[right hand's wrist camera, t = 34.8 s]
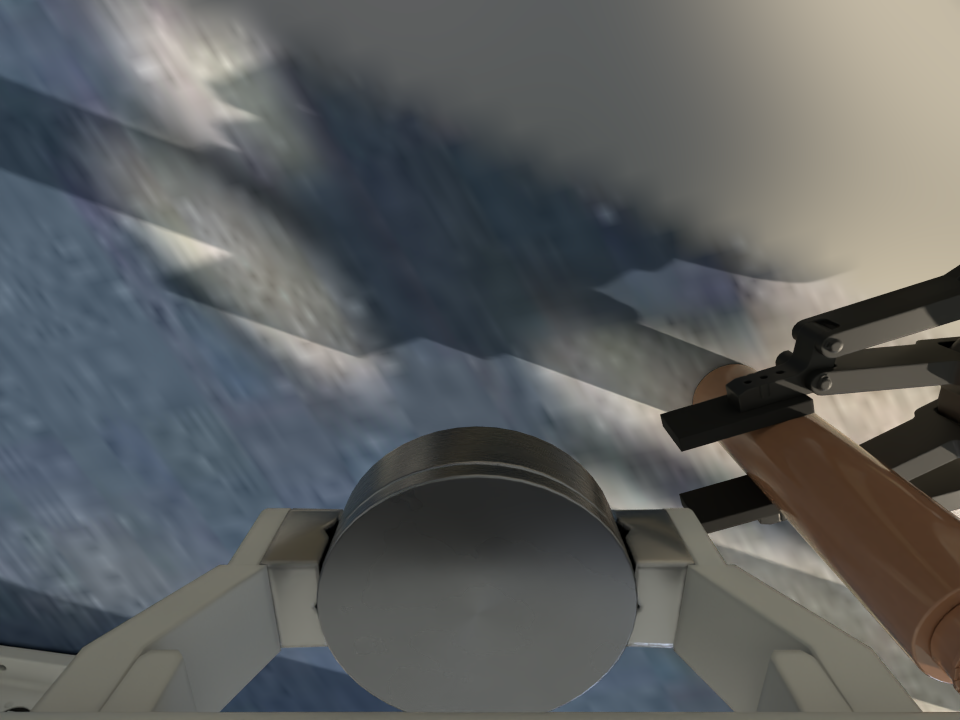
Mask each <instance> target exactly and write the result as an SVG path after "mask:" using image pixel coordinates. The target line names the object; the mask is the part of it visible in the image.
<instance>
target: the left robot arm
mask: <svg viewBox="0 0 960 720" xmlns="http://www.w3.org/2000/svg"><path fill="white" fill-rule="evenodd" d="M957 320H960V265H959V266H957V267H956V268H954V269H953V270H951V271H950V272H948V273H947V274H945V275H943V276H940V277H937V278H934V279H931V280H927V281H924V282H921V283H918V284H915V285H912V286H908V287H905V288H902V289H899V290H896V291H893V292H889V293H886V294H883V295H880V296H877V297H873V298H870V299H867V300H864V301H861V302H858V303H854V304H851V305H848V306H845V307H842V308H839V309H835V310H832V311H829V312H826V313H823V314H820V315H816V316H813V317H810V318H807V319H804V320H801V321H799V322H798V323H797V324H796V325H795V326H794V328H793V330H792V336H793V338H794V339H795V340H796V343H795V347H794V351H793V353H792V352H790V351H788V350H787V351H784V352H782V353H781V354H779V356H778V357H777V359H776V366H775V367H771V368H768V369H765V370H761V371H758V372H755V373H751V374H748V375H746V376H741V377H738V378H735V379H733V380H732V381H730V382H729V383H727V384H726V385H725V386H726V391H727V395H724V396H720V397H717V398H713V399H710V400H707V401H703V402H700V403H697V404H693V405H690V406H687V407H683V408H680V409H677V410H673V411H670V412H667V413H663V414H660V416H661V420H662V424H663V427H664V428H665V430H666V431H667V432H668V434H669V435H670V436H671V438H672V439H673V441H674V442H675V443H676V445H677V446H678V447H679V449H680V450H681V451H686V450H689V449H692V448H696V447H699V446H703V445H706V444H710V443H713V442H716V441H720V440H723V439H727V438H730V437H734V436H737V435H740V434H744V433H747V432H751V431H754V430H758V429H761V428H764V427H768V426H771V425H775V424H778V423H782V422H785V421H788V420H792V419H795V418H799V417H802V416H806V415H809V414H813V413H814V405H813V399H811V398H810V397H808V396H807V395H806V394H810V393H815V394H817V395H833V394H845V393H856V392H867V391H879V390H890V389H901V388H912V387H924V386H935V385H941V390H940V394H939V397H938V399H937V400H935V401H933V402H931V403H929V404H927V405H925V406H923V407H920V408H919V409H917V410H916V411H915V412H914V414H915V417H914V418H913V419H912V420H909V421H907V422H905V423H903V424H901V425H899V426H897V427H895V428H893V429H891V430H889V431H887V432H885V433H883V434H881V435H879V436H877V437H875V438H873V439H871V440H869V441H867V442H864V443H862V444H860V445H859V446H861V447H862V448H863V449H865V450H866V451H867V452H869V453H870V454H872V455H873V456H874V457H876V458H877V459H879V460H880V461H881V462H883V463H884V464H885V465H887V466H888V467H890V468H891V469H892V470H894V471H895V472H896V473H898V474H899V475H901V476H902V477H903V478H905V479H906V480H907V481H909V482H910V483H912V484H913V485H914V486H916V487H917V488H918V489H920V490H921V491H923V492H924V493H925V494H927V495H928V496H930V497H931V498H932V499H934V500H935V501H936V502H938V503H939V504H941V505H942V506H943V507H945V508H946V509H947V510H949V511H952V510H956V509H960V337H950V338H939V339H928V340H919V341H917V342H916V344H914V345H903V346H892V347H881V348H870V349H865V348H868V347H872V346H875V345H878V344H882V343H885V342H888V341H891V340H895V339H898V338H901V337H904V336H908V335H911V334H914V333H918V332H921V331H924V330H927V329H931V328H934V327H937V326H940V325H944V324H947V323H950V322H953V321H957ZM679 495H680V499H681V503H682V506H683V507H684V508H689V509H691V510H692V511H693V512H694V514H695V515H696V517H697V519H698V520H699V522H700V523H701V525H702V526H703V528H704V530H705V531H706V533H707V534H708V533H712V532H715V531H719V530H723V529H726V528H730V527H733V526H737V525H741V524H744V523H748V522H752V521H755V520H758V521H759V522H760V523H761V524H774V523H778V522H781V521H785V520H787V519H786V518H785V517H784V516H783V515H782V513H781V512H780V511H779V510H778V509H777V508H776V507H775V506H774V504H773V503H772V502H771V501H770V500H769V499H768V498H767V497H766V495H765V494H764V493H763V492H762V491H761V490H760V489H759V488H758V486H757V485H756V484H755V483H754V482H753V481H752V480H751V479H750V477H749V476H748V475H745V476H741V477H738V478H734V479H731V480H727V481H724V482H720V483H717V484H713V485H710V486H706V487H703V488H699V489H696V490H692V491H689V492H685V493H681V494H679Z"/></svg>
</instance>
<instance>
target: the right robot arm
mask: <svg viewBox="0 0 960 720" xmlns="http://www.w3.org/2000/svg"><path fill="white" fill-rule="evenodd" d="M611 511H612V514H613V517H614V519H615V522H616V524H617V527H618V530H619V532H620V535H621V537H622V540H623V543H624V545H625V549H626V551H627V553H628V556H629V558H630V561H631V564H632V567H633V571H634V574H635V577H636V584H637V592H638V605H637V615H636V620H635V624H634V629H633V631H632V634H631V637H630V639H629V642H628V644H627V646H631V647H666V648H674V651H675V652H676V653H677V654H678V655H679V656H680V657H681V658H682V659H683V660H684V661H685V662H686V663H687V664H688V665H689V666H690V667H691V668H692V669H693V670H694V671H695V672H696V673H697V674H698V675H699V676H700V677H701V678H702V679H703V680H704V681H705V682H706V683H707V684H708V685H709V686H710V687H711V688H712V689H713V690H714V691H715V692H716V693H717V694H718V695H719V696H720V697H721V698H722V699H723V700H724V701H725V702H726V703H727V705H728V706H729V707H730V708H731V709H732V710H733V711H734V712H220V711H221V710H222V709H223V708H224V707H225V706H226V705H227V704H228V703H229V702H230V701H231V700H232V699H233V698H234V697H235V696H236V695H237V694H238V693H239V692H240V691H241V690H242V689H243V688H244V687H245V686H246V685H247V684H248V683H249V682H250V681H251V680H252V679H253V678H254V677H255V676H256V675H257V674H258V673H259V672H260V671H261V670H262V669H263V668H264V667H265V666H266V665H267V664H268V663H269V662H270V661H271V660H272V659H273V658H274V657H275V656H276V655H277V654H278V653H279V652H280V651H281V648H289V647H323V646H328V645H327V643H326V641H325V638H324V636H323V633H322V631H321V627H320V622H319V618H318V613H317V597H316V596H317V587H318V579H319V576H320V572H321V569H322V565H323V562H324V560H325V557H326V555H327V552H328V550H329V547H330V544H331V542H332V539H333V537H334V534H335V531H336V529H337V526H338V524H339V521H340V519H341V516H342V514H343V509H302V508H293V509H290V508H267V509H265V510H263V511H262V512H261V513H260V515H259V516H258V518H257V520H256V521H255V523H254V524H253V526H252V527H251V529H250V531H249V532H248V534H247V535H246V537H245V538H244V540H243V541H242V543H241V545H240V546H239V548H238V549H237V551H236V552H235V554H234V556H233V557H232V559H231V560H230V562H229V563H228V565H219V566H217V567H215V568H214V569H212V570H210V571H209V572H207V573H205V574H204V575H202V576H200V577H199V578H197V579H195V580H194V581H192V582H190V583H189V584H187V585H185V586H184V587H182V588H180V589H179V590H177V591H175V592H174V593H172V594H171V595H169V596H167V597H166V598H164V599H162V600H161V601H159V602H157V603H156V604H154V605H152V606H151V607H149V608H147V609H146V610H144V611H142V612H141V613H139V614H137V615H136V616H134V617H132V618H131V619H129V620H127V621H126V622H124V623H122V624H121V625H119V626H117V627H116V628H114V629H112V630H111V631H109V632H107V633H106V634H104V635H103V636H101V637H99V638H98V639H96V640H94V641H93V642H91V643H89V644H88V645H86V646H84V647H83V648H82V649H81V650H80V651H79V653H78V654H77V655H69V654H62V653H55V652H47V651H40V650H32V649H25V648H17V647H10V646H2V645H0V720H960V712H922V710H921V709H920V708H919V707H918V705H917V704H916V703H915V702H914V700H913V699H912V698H911V697H910V696H909V694H908V693H907V692H906V691H905V689H904V688H903V687H902V686H901V684H900V683H899V682H898V681H897V679H896V678H895V677H894V676H893V675H892V673H891V672H890V671H889V670H888V668H887V667H886V666H885V665H884V663H883V662H882V661H881V660H880V658H879V657H878V656H877V655H876V654H875V652H874V651H873V650H872V649H871V648H870V647H868V646H867V645H865V644H863V643H862V642H860V641H858V640H857V639H855V638H854V637H852V636H850V635H849V634H847V633H845V632H844V631H842V630H840V629H839V628H837V627H836V626H834V625H832V624H831V623H829V622H827V621H826V620H824V619H822V618H821V617H819V616H818V615H816V614H814V613H813V612H811V611H809V610H808V609H806V608H804V607H803V606H801V605H800V604H798V603H796V602H795V601H793V600H791V599H790V598H788V597H786V596H785V595H783V594H782V593H780V592H778V591H777V590H775V589H773V588H772V587H770V586H768V585H767V584H765V583H764V582H762V581H760V580H759V579H757V578H755V577H754V576H752V575H750V574H749V573H747V572H746V571H744V570H742V569H741V568H739V567H737V566H736V565H727V564H726V563H725V561H724V560H723V558H722V557H721V555H720V553H719V552H718V550H717V549H716V547H715V545H714V544H713V542H712V541H711V539H710V538H709V536H708V534H707V533H706V531H705V530H704V528H703V526H702V525H701V523H700V522H699V520H698V519H697V517H696V515H695V514H694V512H693V511H692V510H691V509H689V508H668V509H656V510H611Z"/></svg>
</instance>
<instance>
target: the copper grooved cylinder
mask: <svg viewBox="0 0 960 720" xmlns="http://www.w3.org/2000/svg"><path fill="white" fill-rule="evenodd" d="M755 372H757V371H756V370H754V369H753V368H751V367H748V366H746V365H740V364H731V365H725V366H722V367H719V368H717V369H715V370H713V371H712V372H710V373H709V374H707V375H706V376H705V377H704V378H703V379H702V380H701V382H700V383H699V384H698V386H697V388H696V390H695V393H694V397H693V404H697V403H700V402H703V401H707V400H710V399H713V398H717V397H720V396H724V395H727V391H726V386H725V385H726V384H727V383H729V382H730V381H732V380H733V379H735V378H738V377H741V376H746V375H748V374H751V373H755ZM718 442H719V444H720V445H721V446H722V447H723V448H724V449H725V450H726V451H727V453H728V454H729V455H730V456H731V457H732V458H733V459H734V460H735V462H736V463H737V464H738V465H739V466H740V467H741V468H742V470H743V471H744V472H745V473H746V474H747V475H748V476H749V477H750V479H751V480H752V481H753V482H754V483H755V484H756V485H757V486H758V488H759V489H760V490H761V491H762V492H763V493H764V494H765V495H766V497H767V498H768V499H769V500H770V501H771V502H772V503H773V504H774V506H775V507H776V508H777V509H778V510H779V511H780V512H781V513H782V515H783V516H784V517H785V518H786V519H787V520H788V521H789V522H790V524H791V525H792V526H793V527H794V528H795V529H796V530H797V531H798V533H799V534H800V535H801V536H802V537H803V538H804V539H805V541H806V542H807V543H808V544H809V545H810V546H811V547H812V548H813V550H814V551H815V552H816V553H817V554H818V555H819V556H820V557H821V559H822V560H823V561H824V562H825V563H826V564H827V565H828V566H829V568H830V569H831V570H832V571H833V572H834V573H835V574H836V575H837V577H838V578H839V579H840V580H841V581H842V582H843V583H844V584H845V586H846V587H847V588H848V589H849V590H850V591H851V592H852V593H853V595H854V596H855V597H856V598H857V599H858V600H859V601H860V602H861V604H862V605H863V606H864V607H865V608H866V609H867V610H868V612H869V613H870V614H871V615H872V616H873V617H874V618H875V619H876V621H877V622H878V623H879V624H880V625H881V626H882V627H883V628H884V630H885V631H886V632H887V633H888V634H889V635H890V636H891V637H892V639H893V640H894V641H895V642H896V643H897V644H898V645H899V646H900V648H901V649H902V650H903V651H904V652H905V653H906V654H907V655H908V657H909V658H910V659H911V660H912V661H913V662H914V663H915V664H916V666H917V667H918V668H919V669H920V670H921V671H922V672H923V673H925V674H926V675H928V676H929V677H931V678H933V679H935V680H938V681H941V682H944V683H949V684H953V686H954V688H955V689H956V691H957V692H958V693H959V694H960V518H958V517H957V516H956V515H954V514H953V513H952V512H950V511H949V510H947V509H946V508H945V507H943V506H942V505H941V504H939V503H938V502H936V501H935V500H934V499H932V498H931V497H930V496H928V495H927V494H925V493H924V492H923V491H921V490H920V489H918V488H917V487H916V486H914V485H913V484H912V483H910V482H909V481H907V480H906V479H905V478H903V477H902V476H901V475H899V474H898V473H896V472H895V471H894V470H892V469H891V468H890V467H888V466H887V465H885V464H884V463H883V462H881V461H880V460H879V459H877V458H876V457H874V456H873V455H872V454H870V453H869V452H867V451H866V450H865V449H863V448H862V447H861V446H859V445H858V444H856V443H855V442H854V441H852V440H851V439H850V438H848V437H847V436H845V435H844V434H843V433H841V432H840V431H839V430H837V429H836V428H834V427H833V426H832V425H830V424H829V423H828V422H826V421H825V420H823V419H822V418H821V417H819V416H818V415H816V414H815V413H813V414H809V415H806V416H802V417H799V418H795V419H792V420H788V421H785V422H782V423H778V424H775V425H771V426H768V427H764V428H761V429H758V430H754V431H751V432H747V433H744V434H740V435H737V436H734V437H730V438H727V439H723V440H720V441H718Z"/></svg>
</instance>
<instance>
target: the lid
mask: <svg viewBox="0 0 960 720" xmlns="http://www.w3.org/2000/svg"><path fill="white" fill-rule="evenodd" d="M316 597H317V613H318V618H319V622H320V627H321V631H322V633H323V636H324V638H325V641H326V643H327V645H328V647H329V649H330V650H331V652H332V654H333V656H334V657H335V659H336V660H337V662H338V663H339V664H340V665H341V667H342V668H343V669H344V670H345V672H346V673H347V674H348V675H349V676H350V677H351V678H353V679H354V680H355V681H356V682H357V683H358V684H359V685H360V686H361V687H363V688H364V689H365V690H367V691H368V692H369V693H371V694H372V695H374V696H375V697H377V698H379V699H380V700H382V701H384V702H386V703H387V704H389V705H391V706H394V707H396V708H398V709H400V710H402V711H405V712H550V711H552V710H554V709H556V708H559V707H561V706H563V705H565V704H567V703H569V702H571V701H572V700H574V699H576V698H577V697H579V696H581V695H582V694H584V693H585V692H586V691H588V690H589V689H590V688H592V687H593V686H594V685H596V684H597V683H598V682H599V681H600V680H601V679H602V678H603V677H604V676H605V675H606V674H607V673H608V672H609V671H610V670H611V668H612V667H613V666H614V665H615V663H616V662H617V661H618V659H619V658H620V656H621V655H622V653H623V651H624V649H625V648H626V646H627V644H628V642H629V639H630V637H631V634H632V631H633V629H634V624H635V620H636V615H637V605H638V592H637V584H636V577H635V574H634V571H633V567H632V564H631V561H630V558H629V556H628V553H627V551H626V549H625V545H624V543H623V540H622V537H621V535H620V532H619V530H618V527H617V524H616V522H615V519H614V517H613V514H612V511H611V509H610V506H609V504H608V502H607V500H606V498H605V496H604V494H603V491H602V490H601V488H600V487H599V486H598V484H597V483H596V481H595V480H594V478H593V477H592V476H591V475H590V474H589V473H588V472H587V471H586V470H585V468H584V467H583V466H582V465H581V464H579V463H578V462H577V461H576V460H574V459H573V458H572V457H571V456H569V455H568V454H567V453H565V452H563V451H562V450H560V449H559V448H557V447H555V446H554V445H552V444H550V443H548V442H545V441H543V440H541V439H539V438H536V437H534V436H531V435H527V434H524V433H521V432H518V431H513V430H508V429H502V428H496V427H478V426H476V427H460V428H453V429H447V430H442V431H437V432H434V433H431V434H427V435H424V436H421V437H419V438H416V439H414V440H412V441H410V442H407V443H405V444H403V445H401V446H400V447H398V448H396V449H395V450H393V451H391V452H390V453H388V454H387V455H385V456H384V457H383V458H382V459H381V460H379V461H378V462H377V463H376V464H374V465H373V466H372V467H371V468H370V469H369V471H368V472H367V473H366V474H365V475H364V476H363V477H362V478H361V480H360V481H359V483H358V484H357V485H356V487H355V488H354V490H353V491H352V493H351V495H350V497H349V500H348V502H347V504H346V506H345V508H344V511H343V514H342V516H341V519H340V521H339V524H338V526H337V529H336V531H335V534H334V537H333V539H332V542H331V544H330V547H329V550H328V552H327V555H326V557H325V560H324V562H323V565H322V569H321V572H320V576H319V579H318V587H317V596H316Z"/></svg>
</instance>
